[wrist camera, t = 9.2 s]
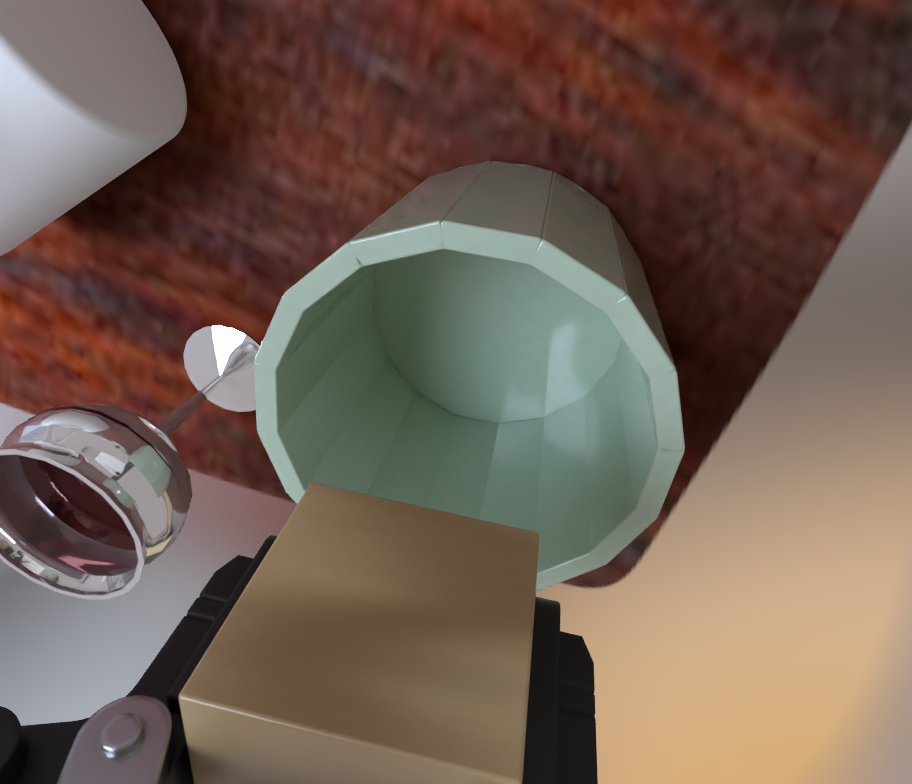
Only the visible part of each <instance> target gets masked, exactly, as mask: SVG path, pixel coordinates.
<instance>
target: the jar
mask: <svg viewBox="0 0 912 784" xmlns="http://www.w3.org/2000/svg"><path fill="white" fill-rule="evenodd" d="M254 381H255V401H256V421H257V431H258V435H259V437H260V439H261V441H262V443H263V445H264V447H265V449H266V451H267V453H268V456H269V458H270V460H271V462H272V464H273V466H274V468H275V470H276V472H277V474H278V476H279V478H280V481H281V483H282V485H283V487H284V489H285V491H286V493H287V494H288V495H289V496H290V497H291V498H292V499H293V500H294V501H295V502H296V503H297V504H298V503H299V501H300V499H301V498H302V496H303V495H304V493H305V491H306V490H307V488H308V487H309V485H310V484H311V483H317V484H322V485H326V486H331V487H335V488H340V489H344V490H349V491H353V492H358V493H362V494H367V495H371V496H376V497H380V498H385V499H389V500H394V501H398V502H403V503H407V504H412V505H416V506H421V507H425V508H430V509H434V510H439V511H443V512H448V513H453V514H457V515H462V516H466V517H471V518H475V519H480V520H484V521H489V522H493V523H498V524H502V525H507V526H511V527H516V528H520V529H525V530H529V531H534V532H537V533H539V536H540V540H539V554H538V568H537V582H536V591H537V590H542V589H544V588H547V587H550V586H552V585H555V584H557V583H560V582H563V581H565V580H568V579H570V578H573V577H576V576H578V575H581V574H584V573H586V572H589V571H591V570H594V569H597V568H599V567H602V566H604V565H606V564H607V563H608V562H610V561H611V560H612V559H613V558H614V557H615V556H616V555H617V554H618V553H619V552H621V551H622V550H623V549H624V548H625V547H626V546H627V545H628V544H629V543H630V542H632V541H633V540H634V539H635V538H636V537H637V536H638V535H639V534H640V533H641V532H643V531H644V530H645V529H646V528H647V527H648V526H649V525H650V524H651V523H652V522H654V521H655V520H656V518H657V517H658V515H659V513H660V510H661V508H662V505H663V503H664V501H665V498H666V496H667V493H668V491H669V488H670V486H671V483H672V481H673V478H674V476H675V474H676V471H677V469H678V466H679V464H680V461H681V459H682V456H683V454H684V449H685V443H684V433H683V424H682V414H681V404H680V394H679V384H678V374H677V370H676V367H675V364H674V361H673V358H672V355H671V352H670V349H669V346H668V343H667V340H666V337H665V334H664V331H663V328H662V325H661V322H660V319H659V316H658V313H657V310H656V307H655V304H654V301H653V298H652V295H651V292H650V289H649V286H648V283H647V280H646V277H645V274H644V271H643V268H642V265H641V262H640V259H639V257H638V255H637V253H636V252H635V250H634V249H633V247H632V245H631V244H630V242H629V240H628V239H627V237H626V235H625V233H624V231H623V229H622V228H621V227H620V225H619V224H618V222H617V221H616V220H615V218H614V216H613V215H612V213H611V212H610V210H609V209H608V208H607V207H606V205H604V204H603V203H601V202H600V201H598V200H597V199H596V198H595V197H594V196H592V195H591V194H590V193H588V192H587V191H586V190H585V189H583V188H582V187H581V186H579V185H577V184H575V183H574V182H572V181H570V180H568V179H567V178H565V177H563V176H561V175H559V174H558V173H556V172H554V173H553V171H550V170H546V169H543V168H539V167H534V166H530V165H526V164H520V163H510V162H497V161H491V162H490V161H486V162H483V163H477V164H472V165H466V166H462V167H459V168H456V169H453V170H450V171H447V172H444V173H440V174H436V175H432V176H431V177H428V178H427V179H426V180H425V181H423V182H422V183H421V184H420V185H418V186H417V187H416V188H415V189H413V190H412V191H411V192H410V193H408V194H407V195H406V196H404V197H403V198H402V199H401V200H399V201H398V202H397V203H396V204H394V205H393V206H392V207H391V208H389V209H388V210H387V211H386V212H384V213H383V214H382V215H381V216H379V217H378V218H377V219H376V220H374V221H373V222H372V223H371V224H369V225H368V226H367V227H366V228H364V229H363V230H362V231H361V232H359V233H358V234H357V235H356V236H354V237H353V238H352V239H351V240H349V241H348V242H347V243H346V244H344V245H343V246H342V247H341V248H339V249H338V250H337V251H336V252H334V253H333V254H332V255H331V256H329V257H328V258H327V259H326V260H324V261H323V262H322V263H321V264H319V265H318V266H317V267H316V268H314V269H313V270H312V271H311V272H310V273H308V274H307V275H306V276H305V277H303V278H302V279H301V280H300V281H298V282H297V283H296V284H295V285H293V286H292V287H291V288H290V289H288V290H287V291H286V292H285V293H284V295H283V296H282V298H281V300H280V303H279V305H278V307H277V309H276V312H275V314H274V316H273V319H272V321H271V323H270V325H269V328H268V330H267V332H266V335H265V337H264V339H263V341H262V344H261V346H260V348H259V350H258V353H257V355H256V357H255V360H254Z"/></svg>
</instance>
